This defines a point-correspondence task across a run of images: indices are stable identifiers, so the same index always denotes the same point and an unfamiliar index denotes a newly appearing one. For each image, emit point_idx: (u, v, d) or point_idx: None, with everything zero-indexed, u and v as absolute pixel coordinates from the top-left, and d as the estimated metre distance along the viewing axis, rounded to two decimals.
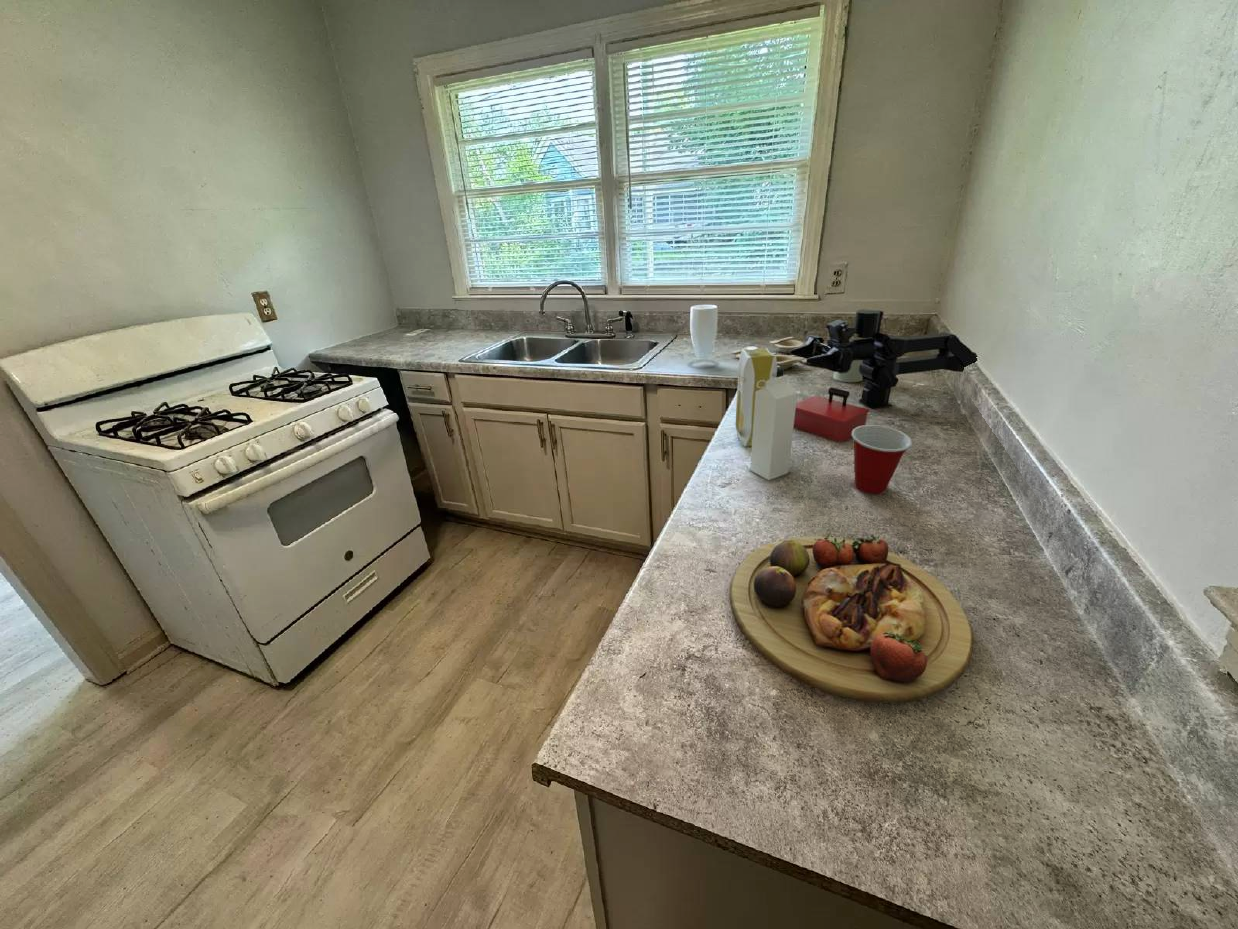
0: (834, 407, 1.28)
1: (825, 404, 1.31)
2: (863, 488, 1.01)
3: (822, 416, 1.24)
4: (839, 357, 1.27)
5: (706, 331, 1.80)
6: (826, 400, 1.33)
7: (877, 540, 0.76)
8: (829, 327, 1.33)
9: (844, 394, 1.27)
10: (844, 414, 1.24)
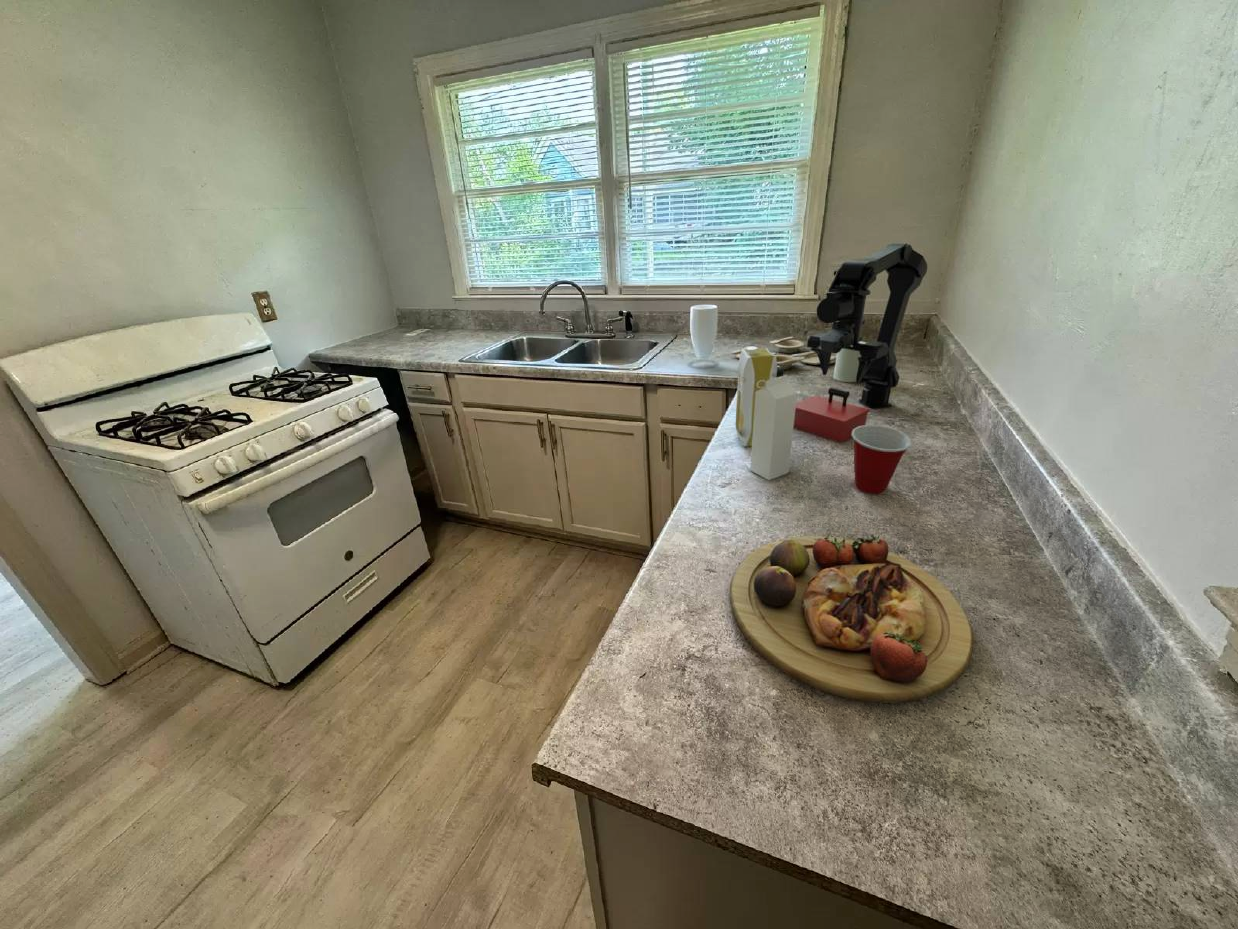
0: (834, 407, 1.28)
1: (825, 404, 1.31)
2: (863, 488, 1.01)
3: (822, 416, 1.24)
4: None
5: (706, 331, 1.80)
6: (826, 400, 1.33)
7: (877, 540, 0.76)
8: None
9: (844, 394, 1.27)
10: (844, 414, 1.24)
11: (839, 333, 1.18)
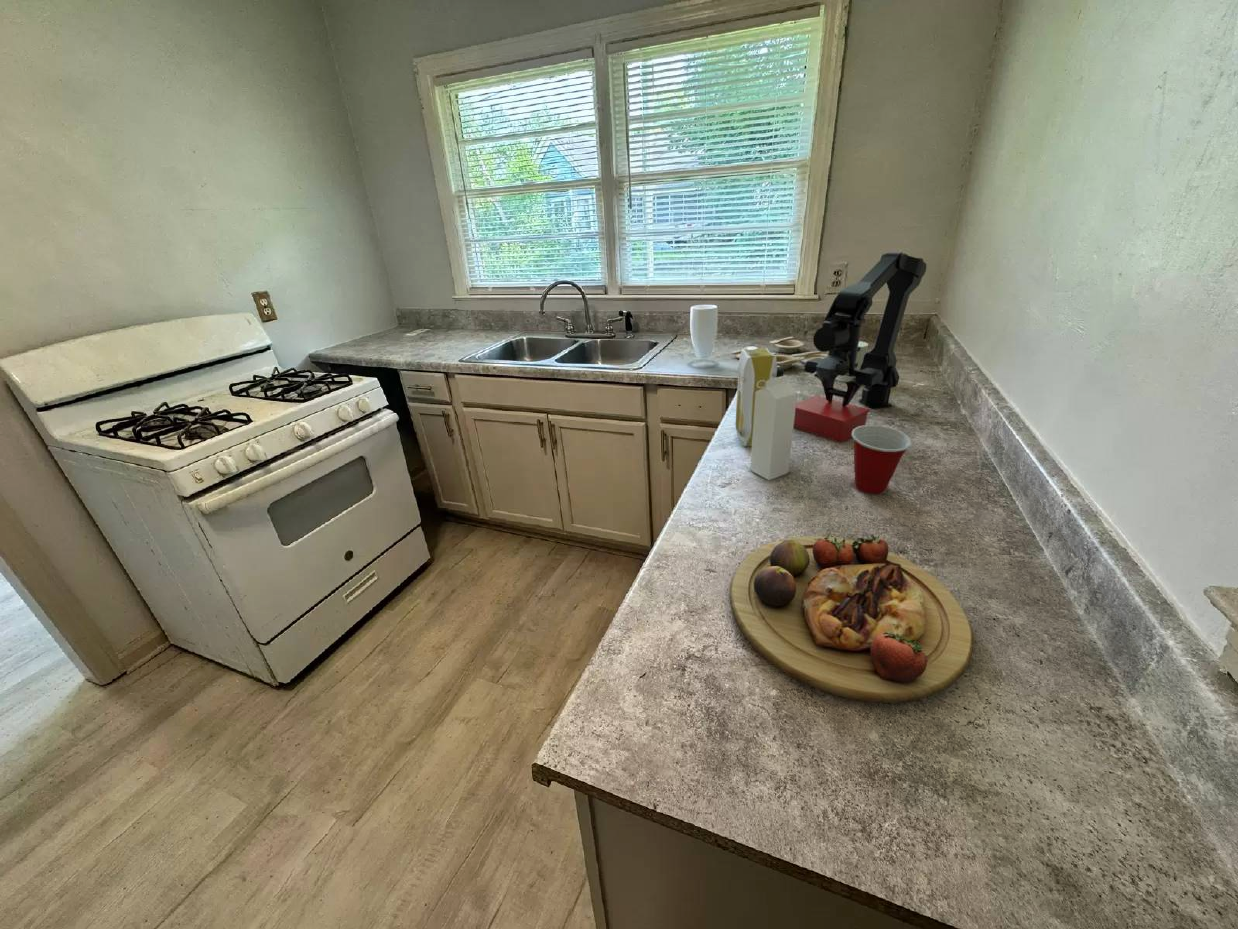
0: (834, 407, 1.28)
1: (825, 404, 1.31)
2: (863, 488, 1.01)
3: (822, 416, 1.24)
4: None
5: (706, 331, 1.80)
6: (826, 400, 1.33)
7: (877, 540, 0.76)
8: None
9: (844, 394, 1.27)
10: (844, 414, 1.24)
11: (835, 360, 1.21)
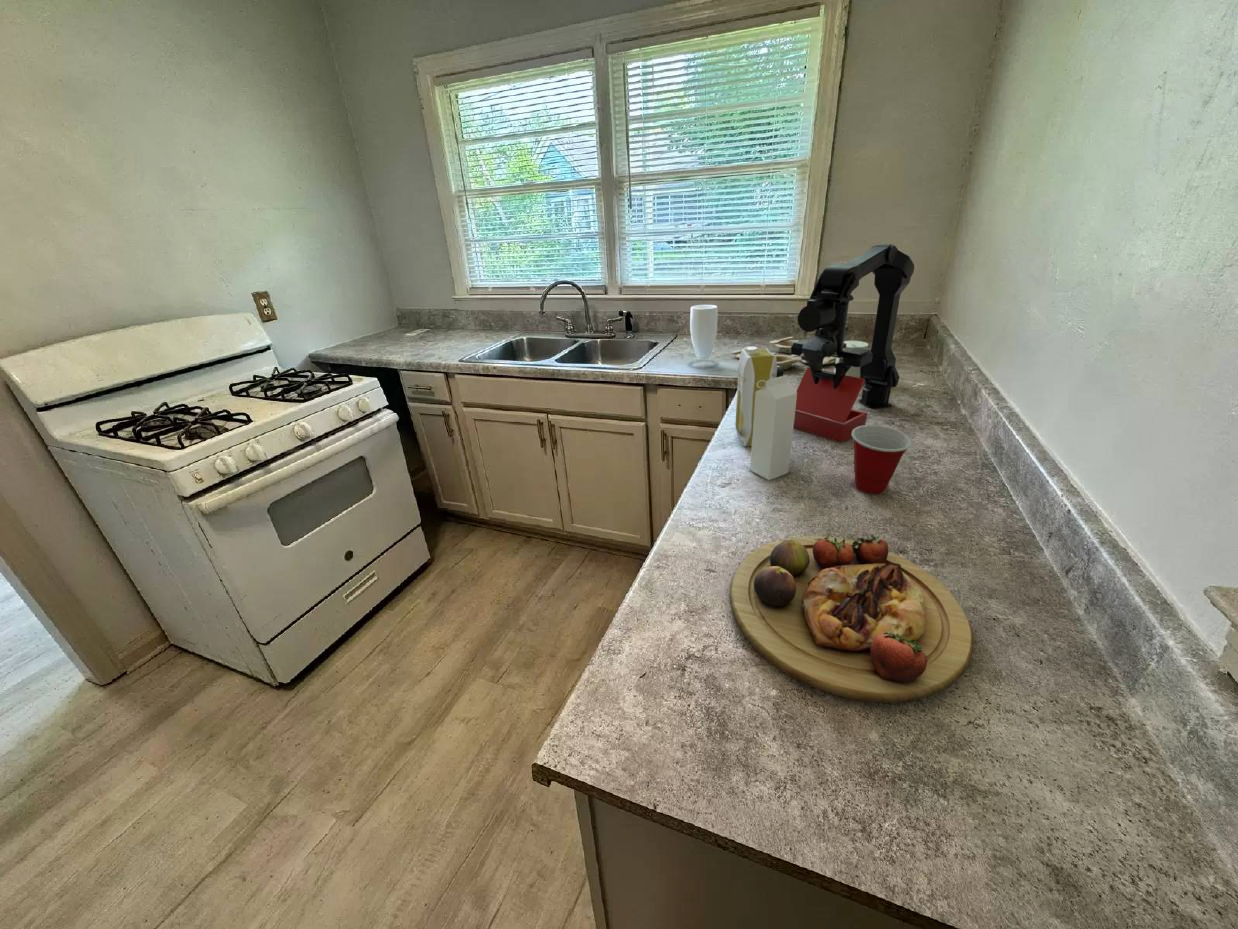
0: (829, 390, 1.24)
1: (820, 385, 1.26)
2: (863, 488, 1.01)
3: (822, 416, 1.24)
4: None
5: (706, 331, 1.80)
6: None
7: (877, 540, 0.76)
8: None
9: (831, 380, 1.21)
10: (841, 404, 1.21)
11: (822, 341, 1.15)
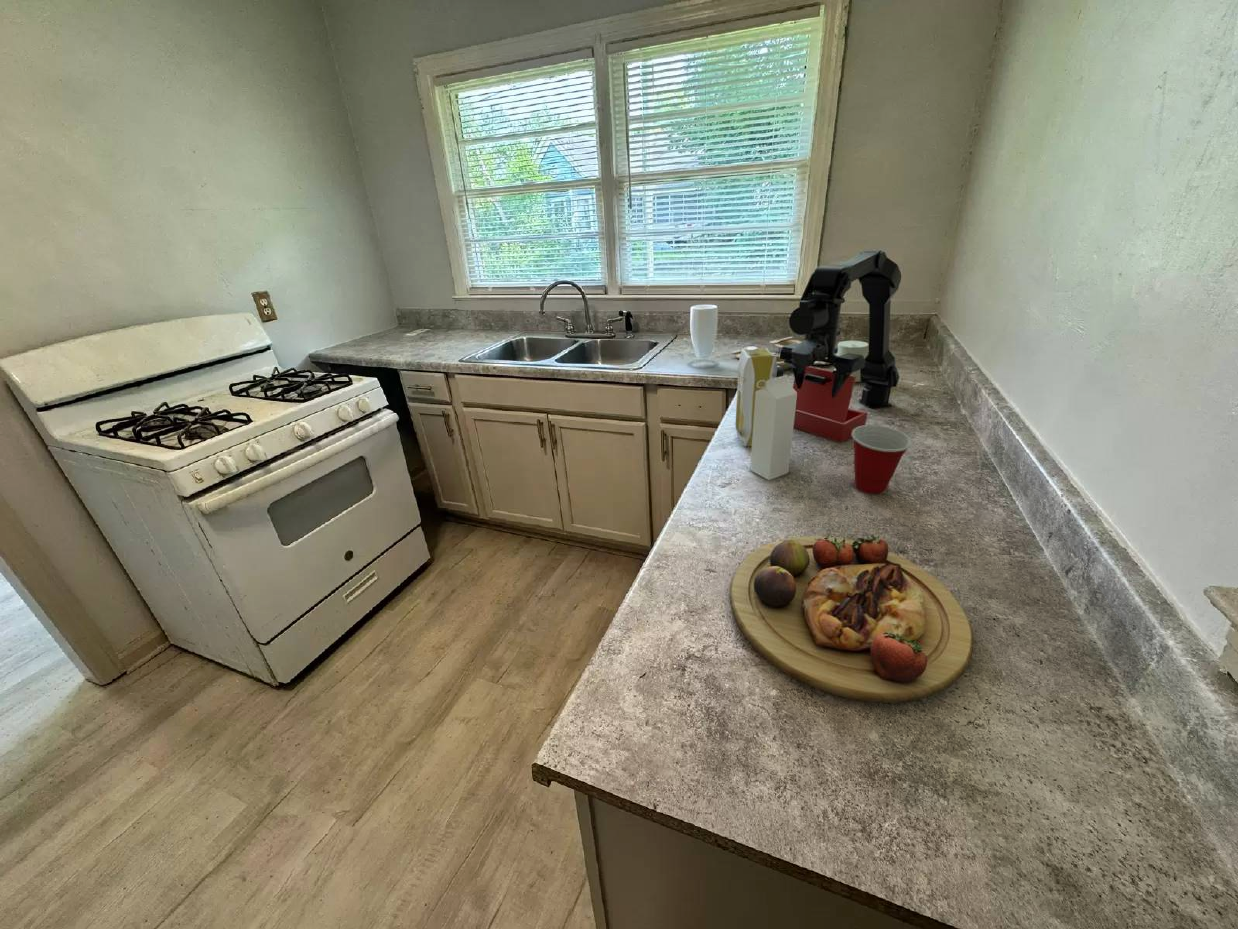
0: (823, 389, 1.22)
1: (814, 384, 1.24)
2: (863, 488, 1.01)
3: None
4: None
5: (706, 331, 1.80)
6: (811, 373, 1.24)
7: (877, 540, 0.76)
8: None
9: (822, 384, 1.19)
10: (837, 404, 1.20)
11: (812, 345, 1.09)
